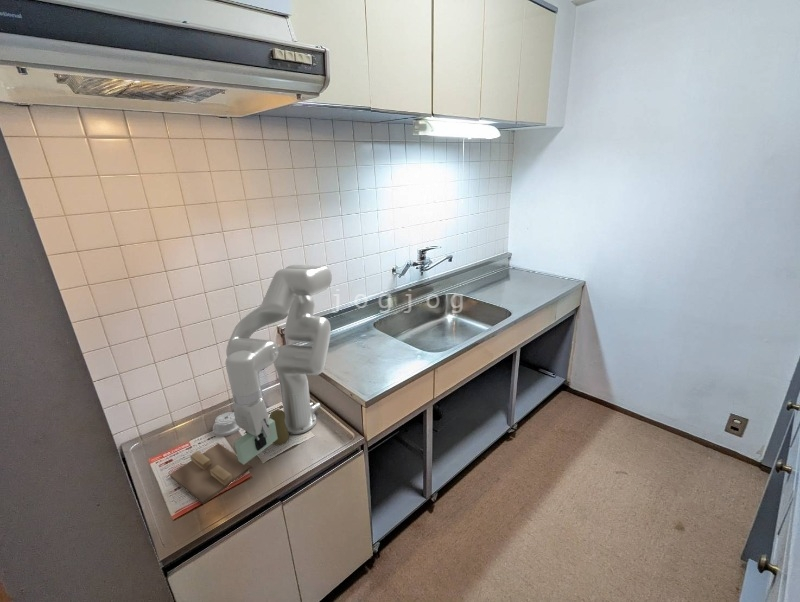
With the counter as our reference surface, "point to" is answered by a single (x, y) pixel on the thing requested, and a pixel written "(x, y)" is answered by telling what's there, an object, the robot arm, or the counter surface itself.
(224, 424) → the mechanical component
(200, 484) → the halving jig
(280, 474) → the counter surface
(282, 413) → the cork
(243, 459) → the sage plate
